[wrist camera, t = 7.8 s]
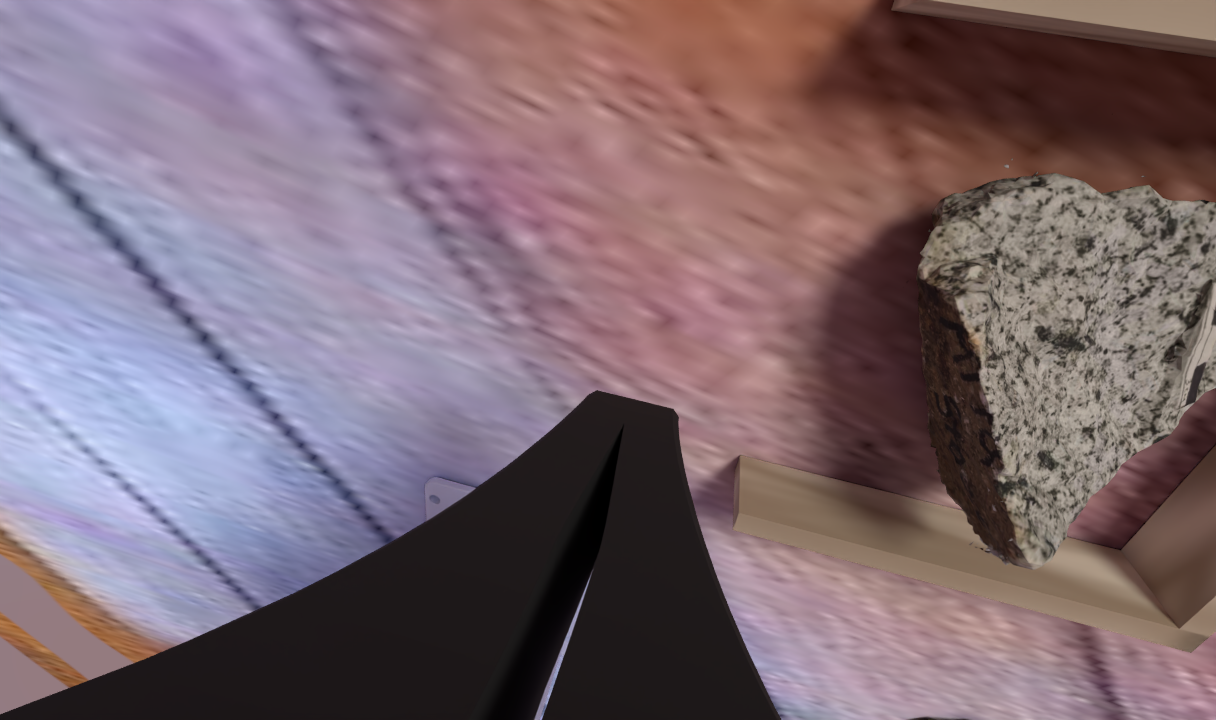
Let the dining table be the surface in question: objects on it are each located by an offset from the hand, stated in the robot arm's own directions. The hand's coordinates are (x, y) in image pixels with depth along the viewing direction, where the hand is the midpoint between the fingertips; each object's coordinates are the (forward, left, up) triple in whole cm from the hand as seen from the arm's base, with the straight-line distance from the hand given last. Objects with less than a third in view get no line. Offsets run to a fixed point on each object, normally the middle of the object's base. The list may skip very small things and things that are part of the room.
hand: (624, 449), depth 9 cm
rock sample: (+1, -10, -10) cm, 14 cm away
